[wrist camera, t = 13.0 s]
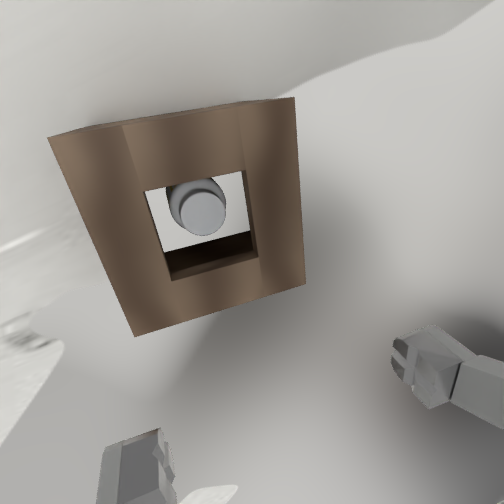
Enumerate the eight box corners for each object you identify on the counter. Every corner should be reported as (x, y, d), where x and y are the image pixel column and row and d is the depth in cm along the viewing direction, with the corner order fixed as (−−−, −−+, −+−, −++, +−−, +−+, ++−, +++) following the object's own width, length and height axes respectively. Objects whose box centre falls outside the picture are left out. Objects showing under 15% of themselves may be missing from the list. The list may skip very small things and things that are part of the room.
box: (243, 101, 32) (294, 97, 21) (261, 234, 39) (305, 284, 28) (86, 126, 29) (47, 137, 17) (138, 266, 36) (134, 337, 25)
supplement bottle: (205, 216, 36) (221, 249, 28) (160, 203, 34) (163, 235, 25) (219, 173, 34) (241, 194, 26) (172, 157, 32) (180, 175, 24)
